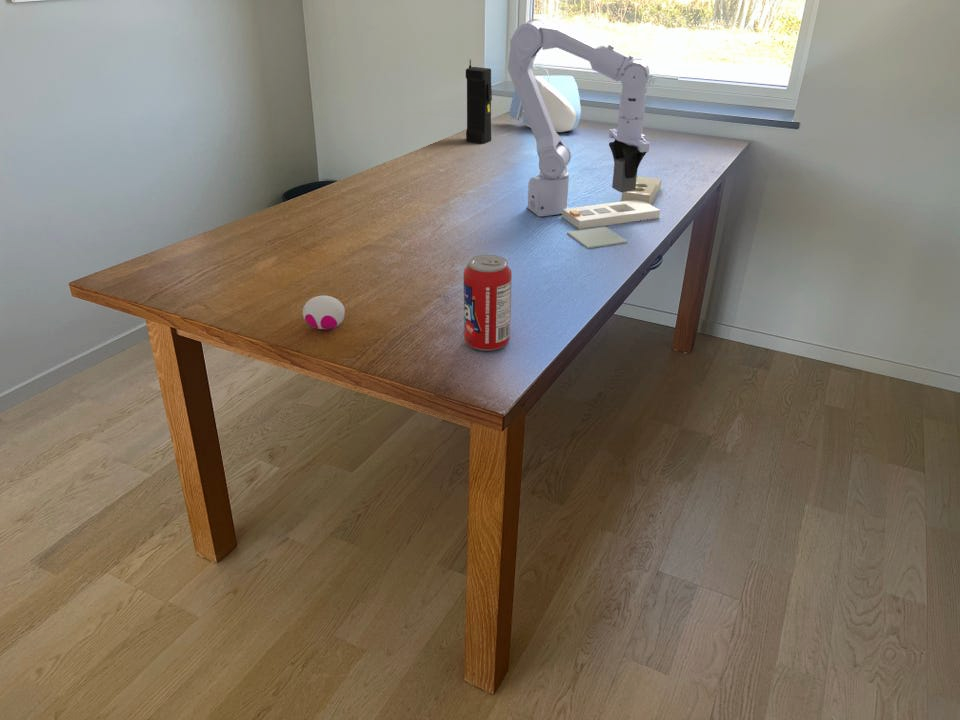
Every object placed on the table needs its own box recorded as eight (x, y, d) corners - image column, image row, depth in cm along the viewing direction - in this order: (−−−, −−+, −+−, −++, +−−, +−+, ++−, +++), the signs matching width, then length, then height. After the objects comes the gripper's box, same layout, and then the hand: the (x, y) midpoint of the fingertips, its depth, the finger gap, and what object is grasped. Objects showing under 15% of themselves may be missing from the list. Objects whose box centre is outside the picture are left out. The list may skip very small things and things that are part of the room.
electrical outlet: (662, 175, 202) (650, 195, 187) (660, 190, 204) (648, 210, 189) (635, 172, 204) (621, 191, 190) (634, 187, 206) (620, 207, 192)
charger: (620, 192, 179) (623, 163, 175) (612, 187, 182) (614, 158, 178) (635, 190, 180) (638, 161, 176) (626, 185, 183) (629, 157, 180)
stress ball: (304, 346, 134) (291, 328, 128) (314, 307, 137) (302, 288, 132) (344, 348, 133) (333, 331, 127) (353, 309, 136) (343, 290, 130)
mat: (587, 248, 166) (587, 246, 166) (567, 233, 174) (567, 231, 174) (626, 242, 169) (627, 241, 169) (604, 228, 177) (605, 226, 177)
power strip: (579, 229, 177) (580, 218, 175) (562, 216, 184) (562, 206, 182) (659, 217, 184) (660, 207, 182) (639, 206, 191) (640, 196, 189)
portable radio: (495, 140, 247) (496, 60, 235) (485, 144, 243) (486, 62, 230) (474, 137, 251) (475, 58, 238) (465, 141, 246) (464, 60, 234)
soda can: (506, 356, 125) (508, 273, 117) (459, 352, 126) (459, 269, 118) (512, 334, 131) (515, 254, 124) (468, 330, 133) (468, 251, 125)
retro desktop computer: (522, 53, 251) (556, 48, 260) (508, 116, 267) (541, 109, 275) (571, 86, 239) (605, 80, 248) (553, 149, 255) (586, 141, 263)
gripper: (663, 122, 168) (656, 181, 175) (629, 108, 179) (623, 165, 186) (636, 124, 165) (629, 184, 172) (603, 111, 177) (598, 168, 184)
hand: (624, 175), depth 179 cm, fingers closed on charger, 4 cm apart
